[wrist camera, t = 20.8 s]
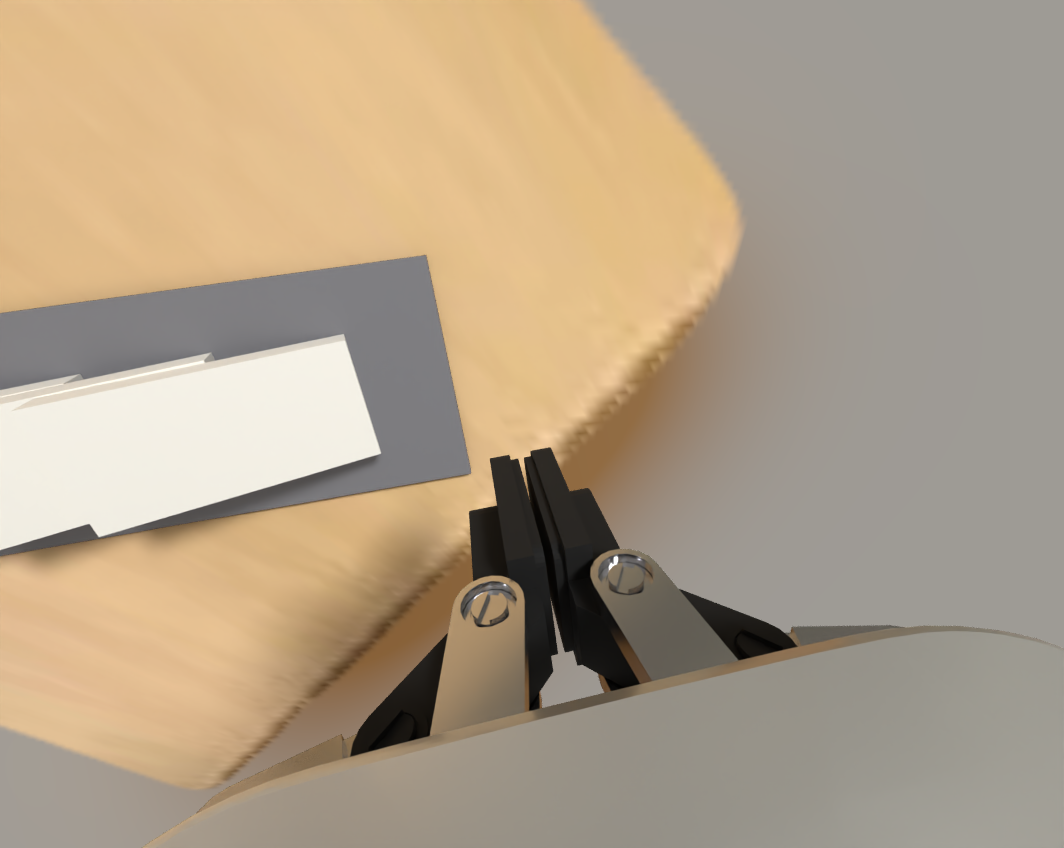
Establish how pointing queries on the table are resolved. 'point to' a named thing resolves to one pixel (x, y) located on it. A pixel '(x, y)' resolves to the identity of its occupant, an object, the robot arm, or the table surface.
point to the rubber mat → (261, 324)
